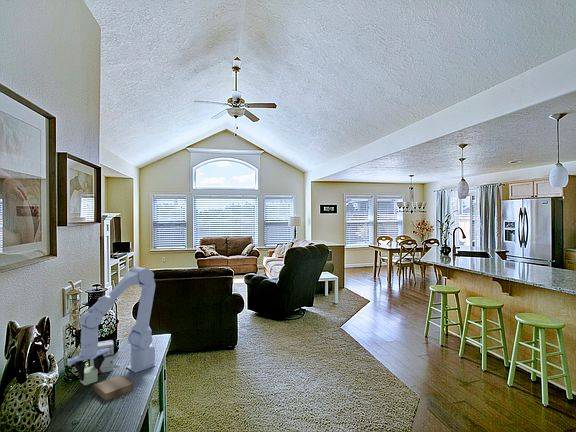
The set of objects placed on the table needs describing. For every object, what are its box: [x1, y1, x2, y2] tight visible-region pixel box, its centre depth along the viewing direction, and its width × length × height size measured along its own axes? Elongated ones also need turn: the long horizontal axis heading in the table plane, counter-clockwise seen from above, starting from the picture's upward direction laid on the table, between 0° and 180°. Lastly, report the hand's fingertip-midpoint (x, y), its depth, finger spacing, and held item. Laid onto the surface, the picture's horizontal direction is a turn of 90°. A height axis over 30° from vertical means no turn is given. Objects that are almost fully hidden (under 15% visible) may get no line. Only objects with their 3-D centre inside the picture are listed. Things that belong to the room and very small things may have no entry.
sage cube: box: [79, 366, 99, 386], centre depth 130 cm, size 4×4×4 cm
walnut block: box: [93, 374, 134, 402], centre depth 128 cm, size 10×10×3 cm
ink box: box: [89, 339, 115, 374], centre depth 144 cm, size 8×5×12 cm, turn 123°
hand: (88, 377), depth 130 cm, fingers closed on sage cube, 4 cm apart
